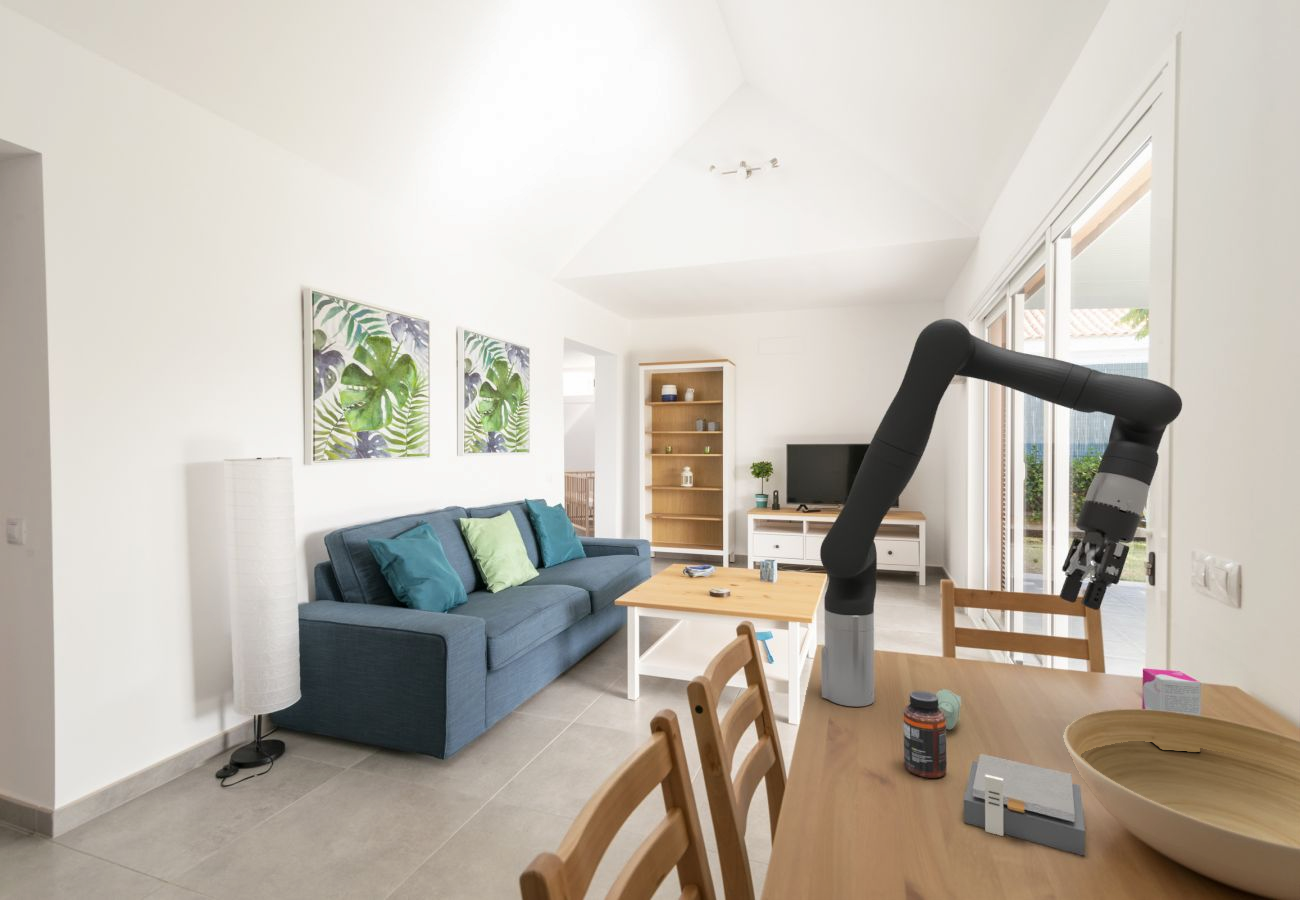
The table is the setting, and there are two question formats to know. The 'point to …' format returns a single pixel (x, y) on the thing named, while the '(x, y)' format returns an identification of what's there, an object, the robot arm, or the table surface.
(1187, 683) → the supplement box
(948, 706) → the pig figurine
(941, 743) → the supplement bottle
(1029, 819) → the scale base
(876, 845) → the table surface
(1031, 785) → the scale pan
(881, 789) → the table surface
